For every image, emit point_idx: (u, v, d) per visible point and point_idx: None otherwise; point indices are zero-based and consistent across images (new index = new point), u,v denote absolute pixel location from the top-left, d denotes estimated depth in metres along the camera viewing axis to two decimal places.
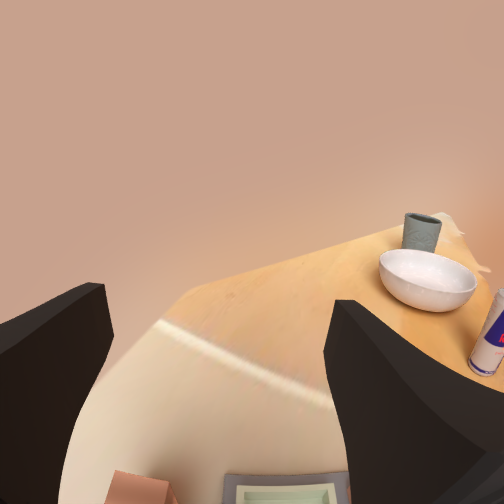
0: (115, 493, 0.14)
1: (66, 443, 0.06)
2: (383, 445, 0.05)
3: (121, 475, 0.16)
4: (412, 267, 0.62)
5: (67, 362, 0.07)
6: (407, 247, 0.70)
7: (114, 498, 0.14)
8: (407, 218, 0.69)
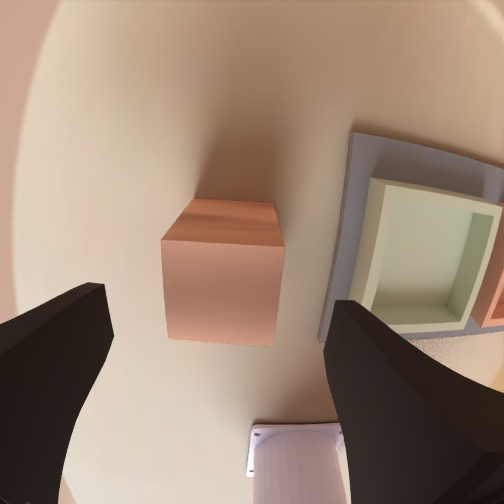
0: (179, 295, 0.11)
1: (66, 443, 0.06)
2: (383, 445, 0.05)
3: (178, 250, 0.10)
4: None
5: (67, 362, 0.07)
6: None
7: (180, 306, 0.11)
8: None
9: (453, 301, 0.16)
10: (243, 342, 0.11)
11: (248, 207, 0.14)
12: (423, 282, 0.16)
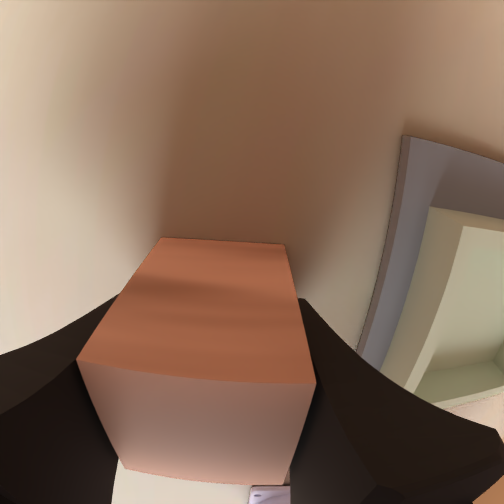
0: (127, 433, 0.05)
1: (116, 457, 0.06)
2: (309, 453, 0.05)
3: (108, 379, 0.05)
4: None
5: None
6: None
7: (132, 444, 0.05)
8: None
9: (503, 357, 0.11)
10: (237, 482, 0.06)
11: (245, 257, 0.09)
12: (474, 340, 0.11)
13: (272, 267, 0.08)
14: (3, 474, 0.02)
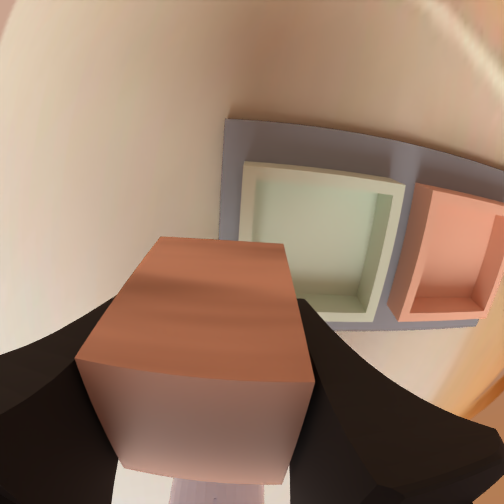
0: (125, 432, 0.05)
1: (116, 457, 0.06)
2: (309, 453, 0.05)
3: (107, 377, 0.05)
4: None
5: None
6: None
7: (131, 443, 0.05)
8: None
9: (361, 291, 0.17)
10: (237, 482, 0.06)
11: (244, 256, 0.09)
12: (321, 269, 0.17)
13: (271, 266, 0.08)
14: (3, 474, 0.02)
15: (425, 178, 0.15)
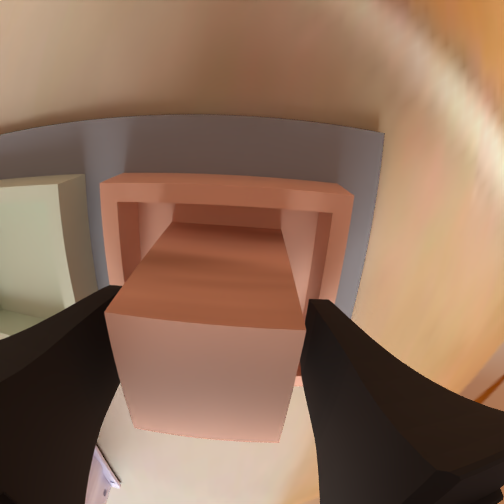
0: (141, 386, 0.06)
1: (92, 451, 0.06)
2: (346, 450, 0.05)
3: (131, 329, 0.06)
4: None
5: (93, 368, 0.07)
6: None
7: (145, 397, 0.07)
8: None
9: None
10: (238, 439, 0.07)
11: (246, 238, 0.10)
12: (46, 293, 0.13)
13: (270, 246, 0.10)
14: None
15: (138, 163, 0.10)
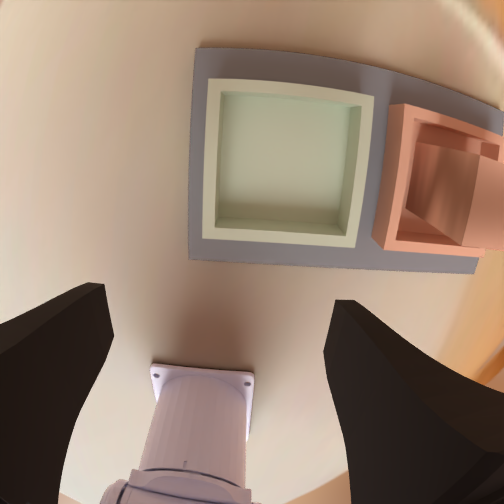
0: (480, 203, 0.10)
1: (66, 443, 0.06)
2: (383, 445, 0.05)
3: (487, 165, 0.10)
4: None
5: (67, 362, 0.07)
6: None
7: (479, 213, 0.11)
8: None
9: (341, 216, 0.16)
10: (501, 248, 0.11)
11: None
12: (296, 192, 0.17)
13: None
14: None
15: (399, 101, 0.14)
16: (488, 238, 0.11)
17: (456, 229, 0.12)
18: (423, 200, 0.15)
